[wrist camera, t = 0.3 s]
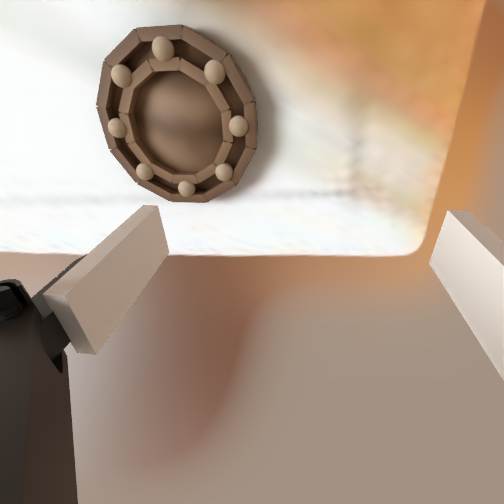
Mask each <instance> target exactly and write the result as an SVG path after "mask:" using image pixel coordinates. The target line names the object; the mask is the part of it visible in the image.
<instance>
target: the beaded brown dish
mask: <svg viewBox="0 0 504 504" xmlns="http://www.w3.org/2000/svg"><path fill="white" fill-rule="evenodd" d="M229 54H230V53H229V52H227V51H225V50H224V49H222V48H221V47H219V46H218V45H217V44H215V43H214V42H213V41H211V40H209V39H207V38H205V37H204V36H202V35H200V34H199V33H197V32H196V31H194V30H192V29H191V28H189V27H187V26H184V25H168V26H154V27H140V28H136V29H133V30H132V31H131V32H130V33H129V34H128V36H127V37H126V38H125V39H124V40H123V41H122V42H121V43H120V44H119V45H118V46H117V47H116V48H115V49H114V50H113V51H112V52H111V53H110V54H109V55H108V56H107V57H106V58H105V59H104V60H105V61H103V67H102V73H101V79H100V85H99V91H98V97H97V103H96V105H97V106H99V107H96V108H97V111H98V114H99V118H100V121H101V124H102V128H103V131H104V134H105V138H106V141H107V144H108V148H109V149H112V150H110V152H111V153H112V154H113V155H114V157H115V158H116V159H117V160H118V161H119V163H120V164H121V165H122V166H123V168H124V169H125V170H126V171H127V173H128V174H129V175H130V176H131V177H132V179H133V180H134V181H135V182H138V183H137V184H138V185H140V186H142V187H144V188H146V189H148V190H149V191H151V192H153V193H155V194H157V195H159V196H161V197H163V198H164V199H166V200H168V201H172V202H197V203H206V202H208V201H210V200H212V199H214V198H215V197H217V196H219V195H221V194H222V193H224V192H226V191H227V190H229V189H231V188H233V187H234V186H236V185H237V184H238V182H239V180H240V178H241V176H242V175H243V173H244V171H245V169H246V167H247V165H248V163H249V161H250V159H251V157H252V155H253V153H254V152H255V150H256V146H257V112H256V101H254V99H255V98H254V96H253V94H252V92H251V89H250V87H249V85H248V83H247V80H246V78H245V76H244V75H243V73H242V72H241V70H240V68H239V67H238V66H237V64H236V63H235V61H234V59H233V57H232V55H229Z"/></svg>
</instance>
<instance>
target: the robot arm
mask: <svg viewBox="0 0 504 504" xmlns="http://www.w3.org/2000/svg"><path fill="white" fill-rule="evenodd" d="M168 253H169V249H168V245H167V241H166V237H165V233H164V229H163V225H162V221H161V217H160V213H159V209H158V206H152V205H143V206H142V207H141V208H140V209H139V210H137V211H136V212H135V213H134V214H133V215H132V216H131V217H129V218H128V219H127V220H126V221H125V222H124V223H123V224H121V225H120V226H119V227H118V228H117V229H116V230H115V231H114V232H112V233H111V234H110V235H109V236H108V237H107V238H106V239H104V240H103V241H102V242H101V243H100V244H99V245H98V246H97V247H95V248H94V249H93V250H92V251H91V252H90V253H89V254H86V255H85V256H83V257H81V258H79V259H77V260H76V261H74V262H73V263H72V264H70V266H68V267H67V268H66V269H65V271H62V272H61V273H60V274H59V275H58V277H56V278H54V279H53V280H52V281H51V282H50V283H48V284H47V285H46V286H45V287H44V288H43V289H41V290H40V291H39V292H38V293H37V294H36V295H34V296H33V297H32V298H31V297H30V296H29V295H28V293H27V291H26V290H25V288H24V286H23V285H22V283H21V282H20V281H18V280H16V279H12V280H11V279H9V280H3V281H0V504H78V499H77V485H76V472H75V458H74V445H73V432H72V417H71V403H70V389H69V376H68V362H67V355H66V353H65V351H64V348H65V347H66V346H67V345H68V344H69V342H71V343H72V345H73V347H74V349H75V350H76V352H77V353H86V354H95V355H96V354H97V353H98V352H99V350H100V349H101V347H102V346H103V345H104V343H105V342H106V340H107V339H108V337H109V336H110V334H111V333H112V332H113V331H114V329H115V328H116V326H117V325H118V324H119V322H120V321H121V319H122V318H123V317H124V315H125V314H126V312H127V311H128V309H129V308H130V307H131V305H132V304H133V303H134V301H135V300H136V298H137V297H138V295H139V294H140V293H141V291H142V290H143V288H144V287H145V286H146V284H147V283H148V281H149V280H150V279H151V277H152V276H153V274H154V273H155V272H156V270H157V269H158V267H159V266H160V265H161V263H162V262H163V260H164V259H165V257H166V256H167V255H168ZM429 264H430V265H431V267H432V268H433V270H434V271H435V273H436V275H437V276H438V278H439V280H440V281H441V283H442V284H443V286H444V287H445V289H446V291H447V292H448V294H449V295H450V297H451V298H452V300H453V301H454V303H455V305H456V306H457V308H458V309H459V311H460V313H461V314H462V316H463V317H464V319H465V321H466V322H467V324H468V325H469V327H470V328H471V330H472V331H473V333H474V335H475V336H476V338H477V339H478V341H479V343H480V344H481V346H482V347H483V349H484V350H485V352H486V354H487V355H488V357H489V358H490V360H491V362H492V363H493V365H494V366H495V368H496V369H497V371H498V373H499V374H500V376H501V377H502V379H503V380H504V242H503V241H502V240H501V239H500V238H498V237H497V236H496V235H495V234H494V233H493V232H492V231H491V230H489V229H488V228H487V227H486V226H485V225H484V224H483V223H481V222H480V221H479V220H478V219H477V218H476V217H475V216H473V215H472V214H471V213H470V212H469V211H468V210H467V211H465V210H448V212H447V214H446V217H445V220H444V223H443V226H442V228H441V232H440V234H439V237H438V240H437V243H436V245H435V248H434V251H433V254H432V257H431V259H430V262H429Z"/></svg>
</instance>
